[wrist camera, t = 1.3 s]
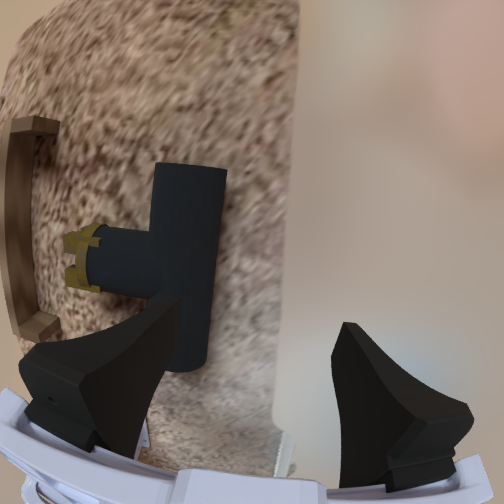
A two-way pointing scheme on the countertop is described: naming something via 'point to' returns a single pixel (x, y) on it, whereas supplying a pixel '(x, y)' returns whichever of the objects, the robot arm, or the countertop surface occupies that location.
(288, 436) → the countertop surface
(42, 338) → the stop rail
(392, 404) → the robot arm
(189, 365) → the pipe connector
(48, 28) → the countertop surface
